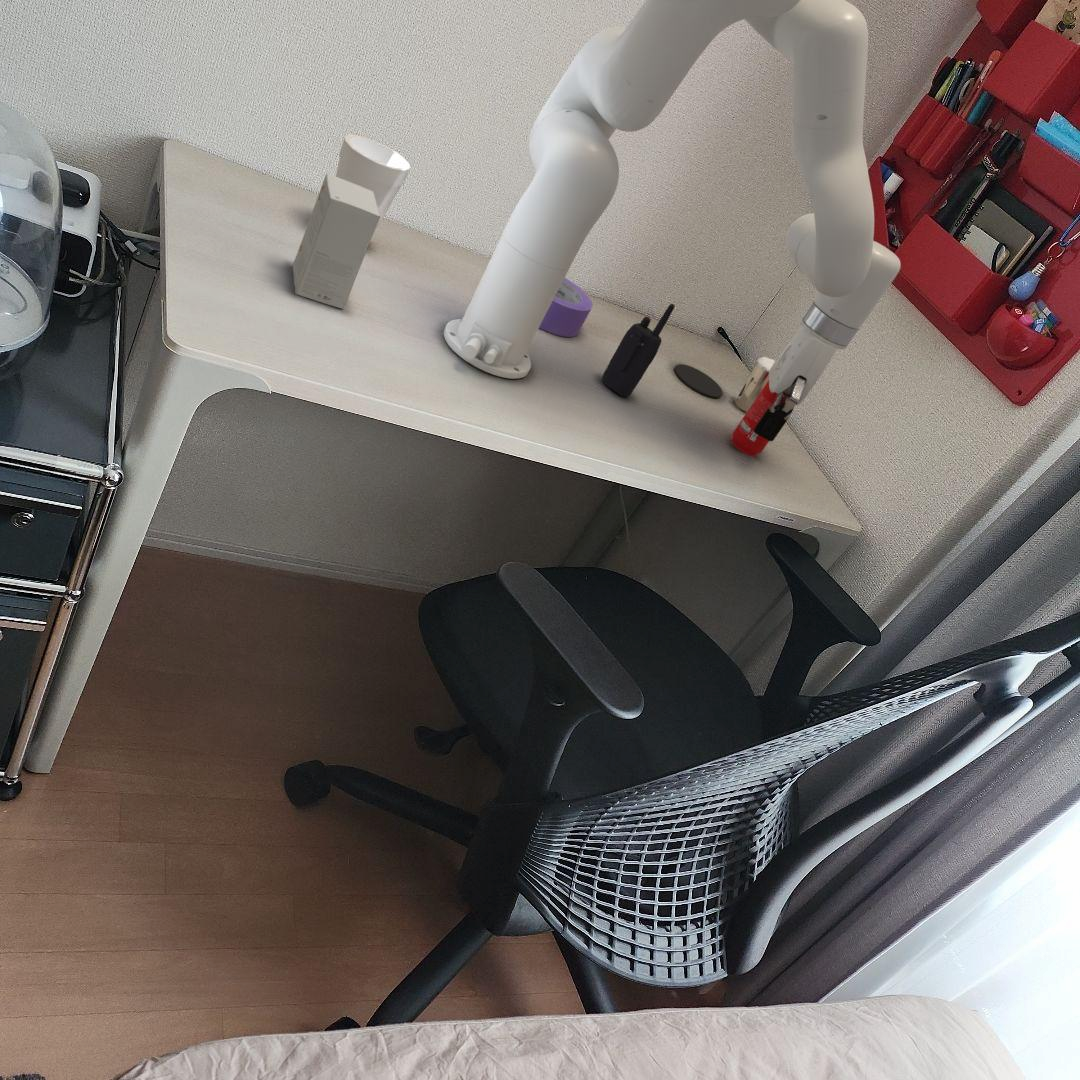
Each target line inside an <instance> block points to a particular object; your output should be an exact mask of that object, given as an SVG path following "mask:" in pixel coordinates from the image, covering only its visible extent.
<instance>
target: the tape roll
mask: <svg viewBox="0 0 1080 1080" xmlns="http://www.w3.org/2000/svg"><path fill="white" fill-rule="evenodd" d="M593 306H594V305H593V301H592V299H591V298H590V296H589V295H588V294H587V293H586V292H585V291H584V290H583V289H582V288H581V287H579V285H577V284H576V283H574V282H572V281H571V280H570V279H568V278H566V277H565V278H564V280H563V282H562V284H561V286H560V288H559V290H558V292H557V293H556V295H555V297H554V299H553V301H552V303H551V305H550V307H549V309H548V311H547V313H546V315H545V317H544V318H543V320H542V322H541V324H540V326H539V328H538V329H541V330H542V331H545V332H547V333H549V334H552V335H555V336H559V337H564V338H573V337H576V336H577V335H578V334H579V333H580V331H581V329H582V327H583V325H584V323H585V322H586V320H587V318H588V316H589V314H590V312H591V311H592V309H593Z"/></svg>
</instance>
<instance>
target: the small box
mask: <svg viewBox="0 0 1080 1080" xmlns="http://www.w3.org/2000/svg"><path fill="white" fill-rule="evenodd" d="M317 195H318V196H317V197H316V201H315V204H314V205H313V209H312V212H311V214H310V217H309V220H308V222H307V226H306V228H305V231H304V234H303V236H302V239H301V242H300V243H299V244H300V245H299V247H298V250H297V254H296V255H295V258H294V261H293V263H292V273H293V284H294V292H295V295H298V296H301V297H304V298H307V299H310V300H312V301H316V302H319V303H322V304H325V305H329V306H332V307H334V308H338V309H342V310H344V309H345V306H346V304H347V301H348V299H349V297H350V294H351V291H352V289H353V286H354V283H355V281H356V278H357V276H358V273H359V271H360V269H361V266H362V263H363V261H364V258H365V256H366V254H367V251H368V249H369V246H370V244H371V242H372V238H373V237H374V235H373V233H374V231H375V228H376V226H377V223H378V221H379V219H380V214H379V210H378V207H377V203H376V199H375V195H374V192H373V191H371V190H368V189H366V188H363V187H361V186H358V185H356V184H353V183H351V182H348V181H346V180H343V179H341V178H338V177H336V175H333V174H331V173H326V174H325V176H324V179H323V182H322V184H321V187H320V189H319V193H318V194H317ZM375 232H376V231H375ZM374 234H375V233H374Z"/></svg>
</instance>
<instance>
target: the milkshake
mask: <svg viewBox="0 0 1080 1080" xmlns="http://www.w3.org/2000/svg"><path fill="white" fill-rule="evenodd" d="M775 361H776V359H775V360H774V359H773V358H769V357H768V356H762V357H760V358H758V359H757V361H756V363H755V365H754V366H753V369H752V370H751V372H750V374H749V376H748V378H747V380H746V381H745V383H744V385H743V387H742V389H741V390H740V392H739V393H738V395H737V397H736V399H735V401H734V405H735V406H736V407H737V408H738V409H739V410H740V411H743V413H747V411H748V410H749V408H750V407H751V405H752V404H753V402H754V401H755V399H756V398H757V397H758V395H759V394H760V392H761V391H762V389H763V388H764V386H765V385H766V383H767V382H768V380H769V371H770V369H771V367H772V366H773V364H774V363H775Z"/></svg>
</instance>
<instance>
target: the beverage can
mask: <svg viewBox="0 0 1080 1080" xmlns="http://www.w3.org/2000/svg"><path fill="white" fill-rule="evenodd" d="M769 380H770V379H769ZM769 380H768V382H767V383H766V385H765V386H764V388H763V389H762V391H761V392H760V394H759V395H758V397H757V398H756V399H755V401H754V402H753V404H752V405H751V407H750V408H749V410H748V411H747V412H745V414H744V416H743V417H742V418H741V420H740V421H739V423H738V424H737V426H736V427H735V429H734V430H733V432H732V436H731V439H730V441H731V442H730V443H731V445H733V446H734V448H735V449H736V450H738V451H739V452H740V453H741V454H744V455H746V456H748V457H756V456H757V455H759V454H761V453H762V452H763V451H764V449H765V448H766V446H767V445H768V444H769V442H770V441H769V440H767V439H765V438H763V437H761V436H759V435H758V434H756V433H754V428H755V427H756V425H757V424H758V422H759V421H760V419H761V418H762V416H763V415H764V413H765V412H766V410H767V409H771V406H772V404H773V402H774V400H775V398H776V396H777V393H776V392H774V393H772V392H771V391H770V388H769ZM793 383H794V382H793ZM793 383H792V384H793ZM783 393H785V392H783ZM785 394H786V395H788V396H789V394H787V393H785ZM782 402H783V400H780V402H779V404H780V403H782ZM784 402H785V401H784ZM779 404H778V405H779Z"/></svg>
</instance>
